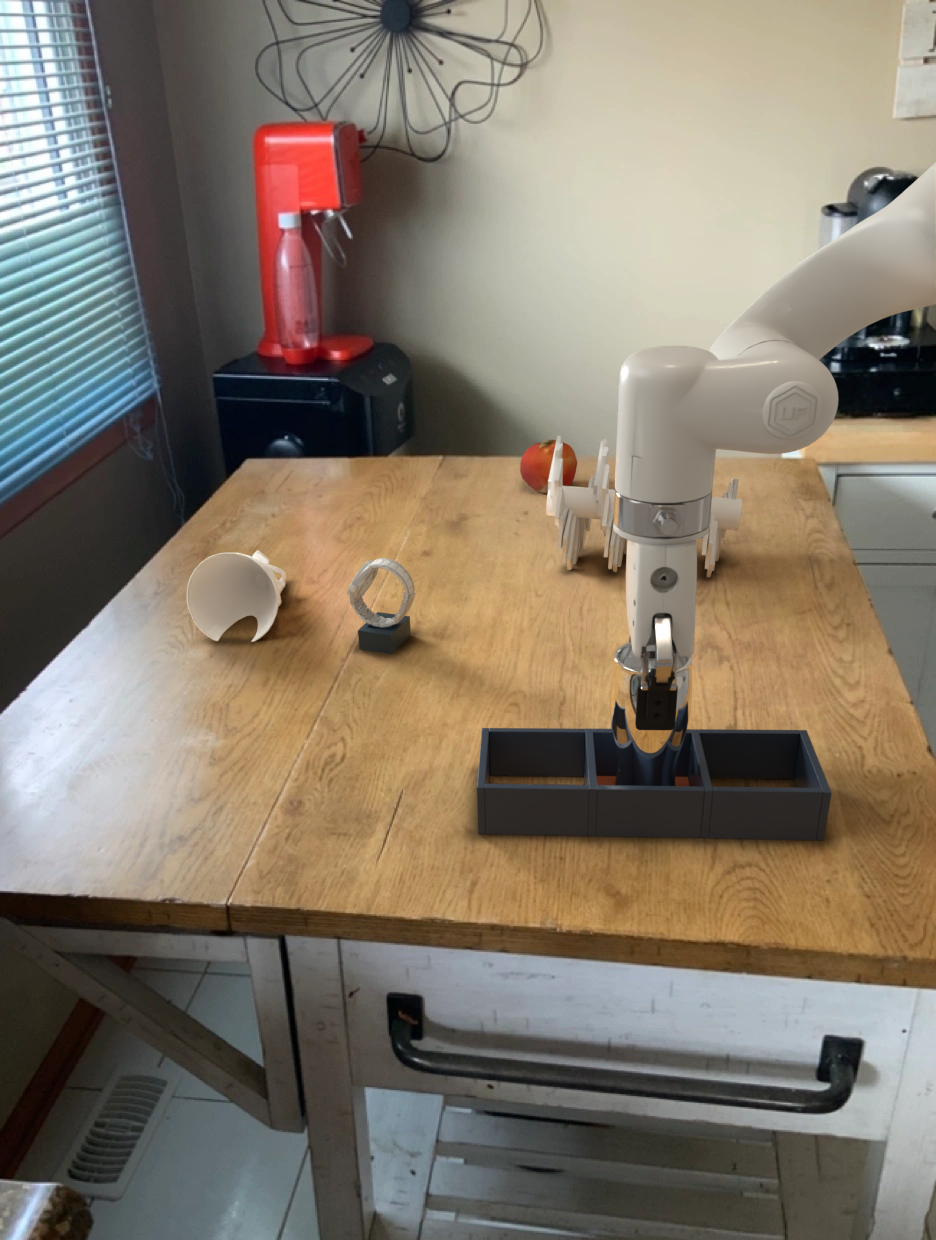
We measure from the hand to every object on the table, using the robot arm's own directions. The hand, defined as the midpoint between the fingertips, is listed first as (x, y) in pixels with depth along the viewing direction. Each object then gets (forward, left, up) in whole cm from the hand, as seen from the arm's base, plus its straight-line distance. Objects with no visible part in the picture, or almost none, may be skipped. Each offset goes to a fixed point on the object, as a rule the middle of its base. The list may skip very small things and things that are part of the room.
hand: (650, 701), depth 98 cm
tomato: (+8, -92, -12) cm, 93 cm away
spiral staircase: (-4, -58, -12) cm, 59 cm away
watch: (+28, -34, -12) cm, 46 cm away
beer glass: (0, 0, -11) cm, 11 cm away
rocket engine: (+45, -43, -12) cm, 63 cm away
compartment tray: (0, 0, -11) cm, 11 cm away
